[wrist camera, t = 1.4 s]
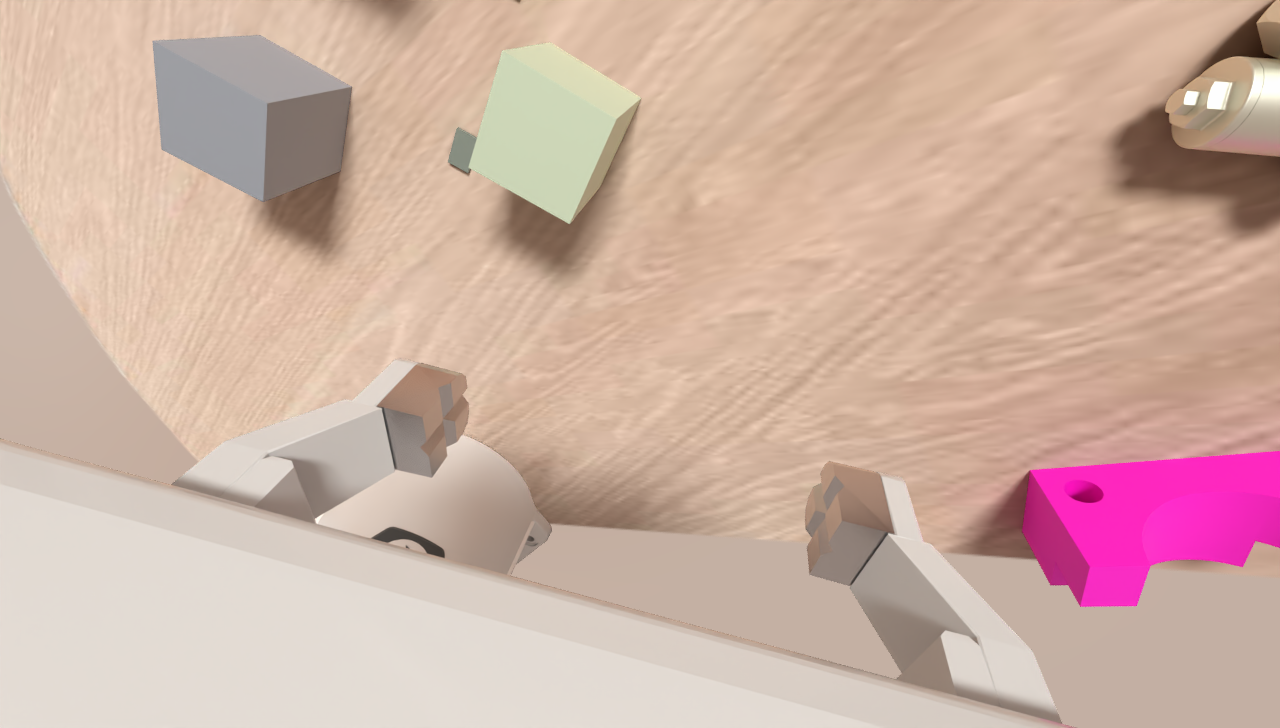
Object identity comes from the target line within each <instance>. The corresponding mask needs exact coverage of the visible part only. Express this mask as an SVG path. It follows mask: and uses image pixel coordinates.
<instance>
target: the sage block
mask: <svg viewBox="0 0 1280 728" xmlns="http://www.w3.org/2000/svg"><path fill="white" fill-rule="evenodd" d="M640 100H641V97H639V96H637V95H636V94H634V93H632V92H631V91H629V90H627V89H626V88H624V87H623V86H621V85H619V84H618V83H616V82H614V81H613V80H611V79H609V78H608V77H606V76H605V75H603V74H601V73H600V72H598V71H596V70H595V69H593V68H591V67H590V66H588V65H587V64H585V63H583V62H582V61H580V60H578V59H577V58H575V57H573V56H572V55H570V54H569V53H567V52H565V51H564V50H562V49H560V48H559V47H557V46H555V45H554V44H552V43H551V42H550V43H544V44H538V45H532V46H526V47H520V48H514V49H508V50H502V54H501V57H500V61H499V64H498V68H497V71H496V74H495V78H494V81H493V85H492V88H491V92H490V95H489V98H488V102H487V105H486V109H485V112H484V116H483V119H482V123H481V126H480V129H479V133H478V136H477V140H476V143H475V147H474V150H473V153H472V157H471V160H470V164H469V167H468V168H470V169H472V170H474V171H475V172H477V173H479V174H481V175H483V176H484V177H486V178H488V179H490V180H492V181H493V182H495V183H497V184H499V185H500V186H502V187H504V188H506V189H508V190H509V191H511V192H513V193H515V194H517V195H518V196H520V197H522V198H524V199H525V200H527V201H529V202H531V203H533V204H534V205H536V206H538V207H540V208H542V209H543V210H545V211H547V212H549V213H550V214H552V215H554V216H556V217H558V218H559V219H561V220H563V221H565V222H567V223H568V224H570V223H571V222H572V221H573V220H574V218H575V217H576V216H577V215H578V214H579V212H580V211H581V210H582V209H583V207H584V206H585V205H586V204H587V203H588V201H589V200H590V199H591V198H592V197H593V195H594V194H595V193H596V192H597V190H598V189H599V188H600V186H601V184H602V182H603V180H604V178H605V176H606V173H607V171H608V169H609V167H610V165H611V163H612V160H613V158H614V156H615V154H616V152H617V150H618V148H619V145H620V143H621V141H622V139H623V137H624V135H625V132H626V130H627V128H628V126H629V124H630V122H631V119H632V117H633V115H634V113H635V111H636V109H637V107H638V104H639V102H640Z"/></svg>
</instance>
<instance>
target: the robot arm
mask: <svg viewBox="0 0 1280 728" xmlns="http://www.w3.org/2000/svg"><path fill="white" fill-rule="evenodd" d="M466 389H467V382H466V376H464V375H463V374H462V373H458V372H454V371H450V370H446V369H443V368H439V367H435V366H431V365H428V364H424V363H418V362H414V361H411V360H407V359H403V358H399V359H396V360H394V361H393V362H392V363H391V364H390V365H389V366H387V367H386V368H385V369H384V370H383V371H382V372H381V373H380V374H379V375H378V376H377V377H376V378H375V379H374V380H373V381H372V382H371V383H370V384H369V385H368V386H367V387H366V388H365V389H363V390H362V391H361V392H360V393H359V394H358V395H357V396H356V397H355V398H354V399H353V400H352V401H351V400H346V399H345V400H342V401H339V402H336V403H333V404H330V405H327V406H325V407H322V408H319V409H316V410H313V411H310V412H307V413H304V414H302V415H299V416H296V417H293V418H290V419H287V420H284V421H281V422H279V423H276V424H273V425H270V426H267V427H264V428H261V429H259V430H256V431H253V432H250V433H247V434H244V435H241V436H238V437H236V438H233V439H230V440H227V441H224V442H223V443H222V444H221V445H219V446H218V447H217V448H216V449H214V450H213V451H212V452H211V453H209V454H208V455H207V456H206V457H205V458H203V459H202V460H201V461H200V462H198V463H197V464H196V465H195V466H193V467H192V468H191V469H190V470H188V471H187V472H186V473H185V474H184V475H182V476H181V477H180V478H179V479H178V480H176V481H175V482H174V483H173V484H171V485H170V484H166V483H163V482H159V481H155V480H151V479H147V478H144V477H140V476H136V475H133V474H129V473H125V472H121V471H118V470H113V469H110V468H106V467H103V466H99V465H95V464H91V463H88V462H84V461H80V460H77V459H73V458H69V457H65V456H61V455H58V454H54V453H50V452H47V451H43V450H39V449H35V448H32V447H28V446H25V445H21V444H18V443H15V442H11V441H7V440H4V439H1V438H0V728H1075V727H1072V726H1068V725H1064V724H1062V722H1061V720H1060V717H1059V714H1058V712H1057V710H1056V707H1055V705H1054V702H1053V700H1052V698H1051V695H1050V693H1049V690H1048V688H1047V685H1046V683H1045V681H1044V678H1043V676H1042V673H1041V671H1040V668H1039V666H1038V664H1037V661H1036V659H1035V656H1034V654H1033V652H1032V650H1031V649H1030V648H1029V647H1028V646H1027V645H1026V644H1025V643H1024V642H1023V641H1022V640H1021V639H1020V638H1019V637H1018V636H1017V635H1016V634H1015V632H1014V631H1013V630H1012V629H1011V628H1010V627H1009V626H1008V625H1007V624H1006V623H1005V622H1004V621H1003V620H1002V619H1001V618H1000V617H999V616H998V615H997V613H996V612H995V611H994V610H993V609H992V608H991V607H990V606H989V605H988V604H987V603H986V602H985V601H984V600H983V599H982V598H981V596H979V594H978V593H977V592H976V591H975V590H974V589H973V588H972V587H971V586H970V585H969V584H968V583H967V582H966V581H965V580H964V578H963V577H962V576H961V575H960V574H959V573H958V572H957V571H956V570H955V569H954V568H953V567H952V566H951V565H950V564H949V563H948V562H947V561H946V559H945V558H944V557H943V556H942V555H941V554H940V553H939V552H938V551H937V550H936V549H935V548H934V547H933V546H932V545H931V544H929V543H925V542H923V539H922V535H921V532H920V529H919V526H918V522H917V519H916V516H915V513H914V509H913V506H912V503H911V500H910V496H909V493H908V490H907V487H906V483H905V481H904V480H903V479H902V478H901V477H898V476H893V475H889V474H884V473H880V472H874V471H870V470H865V469H861V468H857V467H852V466H848V465H844V464H839V463H835V462H831V461H829V462H828V463H826V464H825V466H824V467H823V469H822V471H821V473H820V474H821V483H820V484H818V485H816V486H814V487H813V489H812V491H811V493H810V495H809V497H808V501H807V505H806V510H805V528H806V530H807V532H808V533H809V534H810V536H811V537H812V539H811V541H810V542H809V544H808V546H807V552H808V564H809V574H810V575H813V576H816V577H820V578H823V579H827V580H830V581H834V582H837V583H841V584H844V585H848V586H851V587H850V589H851V591H852V593H853V594H854V596H855V598H856V599H857V600H858V602H859V604H860V606H861V607H862V609H863V611H864V612H865V614H866V615H867V617H868V619H869V620H870V622H871V624H872V625H873V627H874V628H875V630H876V632H877V633H878V635H879V637H880V638H881V640H882V641H883V643H884V645H885V646H886V648H887V649H888V651H889V653H890V654H891V656H892V658H893V659H894V661H895V663H896V664H897V666H898V667H899V669H900V671H901V672H902V674H901V675H900V676H899V677H898V678H897V679H893V678H889V677H886V676H882V675H878V674H874V673H871V672H867V671H863V670H860V669H856V668H852V667H848V666H845V665H841V664H837V663H833V662H830V661H826V660H822V659H819V658H814V657H811V656H807V655H804V654H800V653H796V652H792V651H789V650H785V649H781V648H777V647H774V646H770V645H767V644H762V643H759V642H755V641H752V640H748V639H744V638H740V637H737V636H733V635H729V634H725V633H721V632H718V631H714V630H710V629H706V628H703V627H699V626H695V625H691V624H687V623H684V622H680V621H676V620H672V619H669V618H665V617H661V616H658V615H654V614H650V613H646V612H643V611H639V610H635V609H631V608H628V607H624V606H620V605H617V604H613V603H609V602H606V601H601V600H598V599H594V598H591V597H587V596H583V595H580V594H576V593H572V592H568V591H565V590H561V589H557V588H553V587H550V586H546V585H542V584H539V583H535V582H531V581H528V580H524V579H520V578H516V577H513V576H511V574H512V571H513V569H514V567H515V565H516V564H517V563H519V562H520V561H521V560H522V559H524V558H525V557H526V556H527V555H529V554H530V553H531V552H533V551H534V550H535V549H537V548H538V547H539V546H540V545H542V544H543V543H544V542H546V541H547V539H548V537H549V535H550V533H551V531H552V528H551V525H550V524H549V523H548V522H547V520H546V519H545V518H544V517H543V516H542V514H541V513H540V512H539V511H538V510H537V509H536V507H535V505H534V502H533V499H532V496H531V493H530V490H529V488H528V486H527V484H526V482H525V481H524V479H523V478H522V476H521V475H520V474H519V473H518V471H517V470H516V469H515V468H514V467H513V466H512V465H511V464H510V463H509V462H508V461H507V460H506V459H504V458H503V457H502V456H501V455H499V454H498V453H497V452H495V451H494V450H492V449H491V448H489V447H488V446H486V445H484V444H482V443H480V442H478V441H476V440H474V439H472V438H470V437H467V436H465V435H462V434H463V432H464V430H465V427H466V424H467V422H468V415H469V403H468V402H467V401H466V399H465V398H464V397H463V395H462V394H463V393H464V392H465V390H466ZM315 518H316V520H315Z"/></svg>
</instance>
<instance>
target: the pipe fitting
mask: <svg viewBox="0 0 1280 728" xmlns="http://www.w3.org/2000/svg"><path fill="white" fill-rule="evenodd" d="M1256 24H1257V27H1258V31H1259V35H1260V39H1261V43H1262V47H1263V51H1264V53H1266V54H1268V55H1270V56H1273V57H1276V58H1279V59H1270V58H1253V57H1241V56H1236V57H1230V58H1227V59H1224V60H1222V61H1220V62H1218V63H1216V64H1214V65H1213V66H1211V67H1210V68H1208V69H1207V70H1206V71H1204V72H1203V73H1202V74H1201V75H1200V76H1199V77H1197V78H1196V79H1194V80H1193V81H1191V82H1190V83H1189V84H1188V85H1187V86H1185V87H1184V88H1183V89H1179V90H1177V91H1176V92H1175V93H1173V94H1172V95H1171V97H1170V98H1169V99H1168V101H1167V104H1166V107H1165V112H1167V113H1169V123H1171V124H1172V127H1171V129H1172V137H1173V139H1174V141H1175V143H1176V144H1177V145H1178V146H1180V147H1182V148H1186V149H1197V150H1208V151H1220V152H1232V153H1243V154H1255V155H1266V156H1278V157H1280V0H1276V1H1275V2H1274V3H1273V4H1272V5H1271V6H1270V7H1269V8H1268V9H1267V10H1266V11H1265V13H1264V14H1263V15H1262V16H1261V18H1260V19H1259V20H1258V21H1257V23H1256Z"/></svg>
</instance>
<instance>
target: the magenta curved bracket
mask: <svg viewBox="0 0 1280 728" xmlns="http://www.w3.org/2000/svg"><path fill="white" fill-rule="evenodd" d="M1022 532H1023V534H1024V536H1025V538H1026V540H1027V542H1028V544H1029V545H1030V547H1031V549H1032V551H1033V553H1034V555H1035V557H1036V559H1037V561H1038V562H1039V564H1040V566H1041V568H1042V570H1043V572H1044V574H1045V575H1046V578H1047V579H1048V581H1049V583H1050V585H1068V586H1069V587H1070V589H1071V591H1072V593H1073V594H1074V596H1075V598H1076V600H1077V601H1078V603H1079V605H1080V607H1081V606H1082V607H1087V606H1088V607H1089V606H1090V607H1091V606H1137V604H1138V601H1139V598H1140V595H1141V592H1142V589H1143V586H1144V583H1145V580H1146V577H1147V574H1148V571H1149V569H1150V566H1151V565H1154V564H1157V563H1161V562H1165V561H1172V560H1188V559H1190V560H1206V561H1215V562H1221V563H1227V564H1231V565H1236V566H1240V567H1243V565H1244V563H1245V561H1246V559H1247V557H1248V555H1249V553H1250V551H1251V549H1252V547H1253V545H1254V543H1255V541H1258V542H1261V543H1265V544H1269V545H1272V546H1275V547H1279V548H1280V451H1274V452H1261V453H1248V454H1235V455H1222V456H1209V457H1196V458H1183V459H1170V460H1157V461H1143V462H1130V463H1117V464H1104V465H1091V466H1078V467H1065V468H1052V469H1039V470H1030V475H1029V483H1028V490H1027V498H1026V506H1025V513H1024V521H1023V529H1022Z"/></svg>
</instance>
